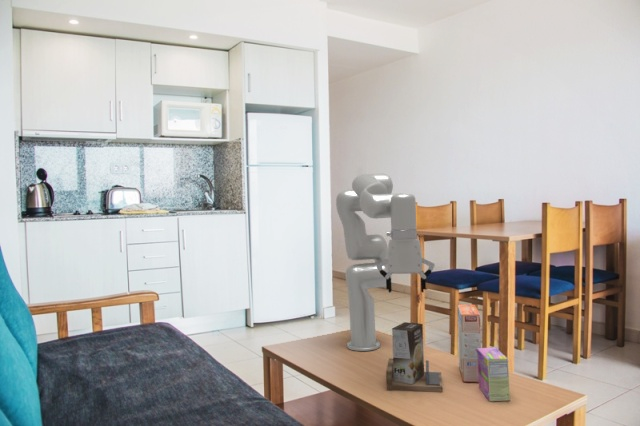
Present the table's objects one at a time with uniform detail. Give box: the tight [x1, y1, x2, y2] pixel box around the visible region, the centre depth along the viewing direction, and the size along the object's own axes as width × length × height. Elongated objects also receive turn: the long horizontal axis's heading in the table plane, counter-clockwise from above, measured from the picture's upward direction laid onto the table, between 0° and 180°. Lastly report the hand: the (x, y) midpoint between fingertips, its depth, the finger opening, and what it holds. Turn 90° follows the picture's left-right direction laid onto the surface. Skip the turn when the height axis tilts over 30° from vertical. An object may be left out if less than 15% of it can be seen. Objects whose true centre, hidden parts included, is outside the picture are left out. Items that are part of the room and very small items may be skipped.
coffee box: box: [391, 321, 425, 384], centre depth 153 cm, size 9×6×16 cm
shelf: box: [385, 358, 444, 393], centre depth 153 cm, size 12×16×6 cm
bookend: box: [425, 360, 440, 386], centre depth 152 cm, size 10×4×4 cm, turn 168°
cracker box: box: [457, 304, 482, 383], centre depth 158 cm, size 14×6×21 cm, turn 168°
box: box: [477, 347, 510, 402], centre depth 142 cm, size 10×6×12 cm, turn 178°
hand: (406, 291), depth 153 cm, fingers open, 9 cm apart
